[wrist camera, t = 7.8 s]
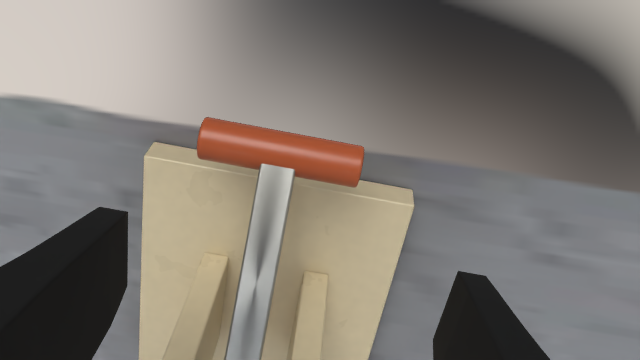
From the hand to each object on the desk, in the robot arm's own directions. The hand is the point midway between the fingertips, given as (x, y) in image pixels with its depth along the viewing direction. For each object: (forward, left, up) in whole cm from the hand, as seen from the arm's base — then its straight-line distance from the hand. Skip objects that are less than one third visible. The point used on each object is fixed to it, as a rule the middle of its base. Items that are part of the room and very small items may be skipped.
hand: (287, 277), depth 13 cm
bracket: (-5, -7, -10) cm, 13 cm away
